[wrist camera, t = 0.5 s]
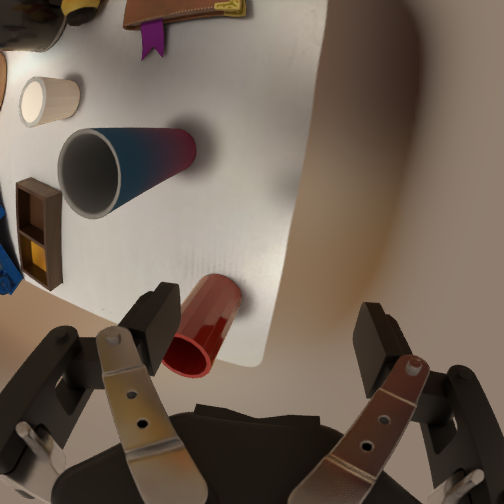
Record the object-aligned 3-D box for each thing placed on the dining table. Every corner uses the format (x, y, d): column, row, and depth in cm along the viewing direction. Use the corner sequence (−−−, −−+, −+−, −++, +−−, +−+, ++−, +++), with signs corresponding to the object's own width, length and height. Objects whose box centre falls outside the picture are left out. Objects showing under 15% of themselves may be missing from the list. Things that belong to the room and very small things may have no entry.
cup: (157, 116, 30) (60, 124, 17) (210, 127, 30) (127, 135, 17) (147, 171, 34) (56, 206, 20) (197, 185, 33) (117, 230, 20)
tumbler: (202, 266, 37) (157, 322, 27) (248, 285, 37) (217, 350, 26) (192, 303, 40) (151, 361, 29) (234, 321, 40) (203, 386, 29)
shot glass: (87, 107, 32) (50, 110, 25) (59, 130, 34) (23, 136, 28) (77, 67, 29) (41, 66, 23) (50, 92, 32) (15, 94, 25)
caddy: (33, 262, 47) (21, 270, 43) (30, 177, 39) (15, 182, 35) (62, 282, 46) (50, 291, 43) (62, 191, 38) (46, 198, 35)
